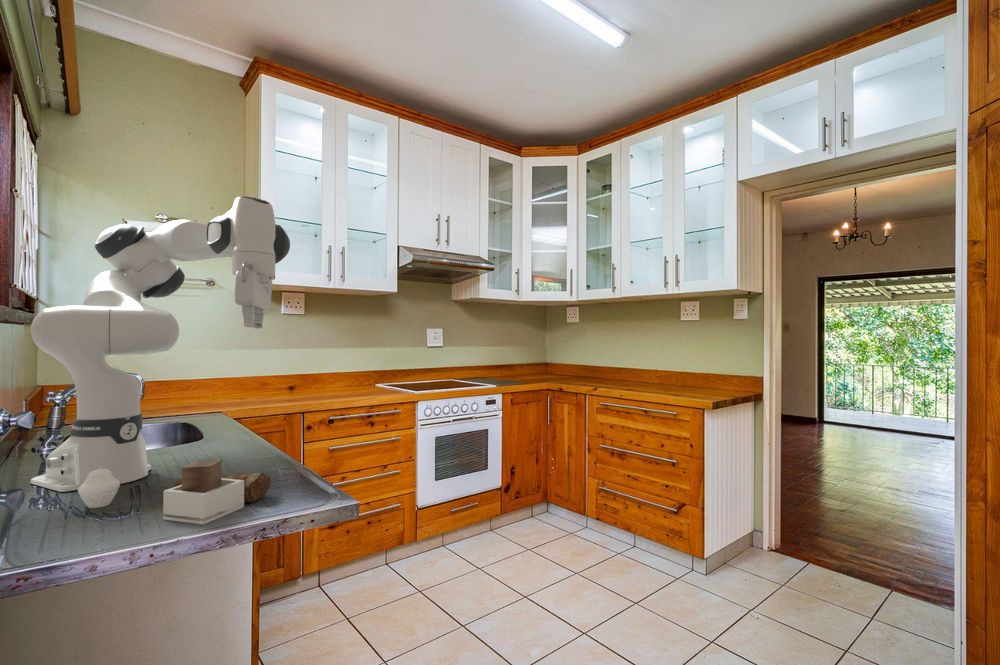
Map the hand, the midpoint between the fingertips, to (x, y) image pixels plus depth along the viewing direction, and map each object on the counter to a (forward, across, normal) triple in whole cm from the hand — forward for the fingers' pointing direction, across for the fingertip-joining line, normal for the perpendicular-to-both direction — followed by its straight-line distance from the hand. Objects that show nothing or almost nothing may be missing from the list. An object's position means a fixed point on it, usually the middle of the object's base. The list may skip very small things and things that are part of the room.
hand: (253, 327), depth 110 cm
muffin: (+34, -12, +24) cm, 44 cm away
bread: (+35, -15, +3) cm, 38 cm away
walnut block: (+33, -23, +4) cm, 40 cm away
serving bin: (+34, -22, +4) cm, 41 cm away
